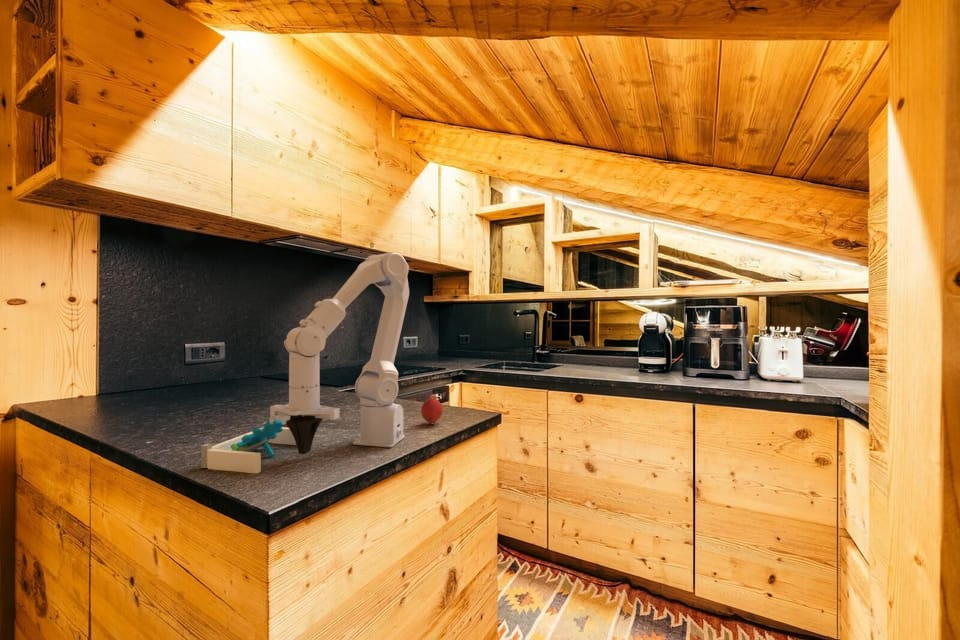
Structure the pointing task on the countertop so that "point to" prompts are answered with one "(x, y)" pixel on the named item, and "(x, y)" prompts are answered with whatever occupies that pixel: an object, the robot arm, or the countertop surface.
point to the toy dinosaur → (259, 438)
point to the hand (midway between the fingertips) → (304, 452)
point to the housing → (238, 454)
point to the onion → (432, 409)
